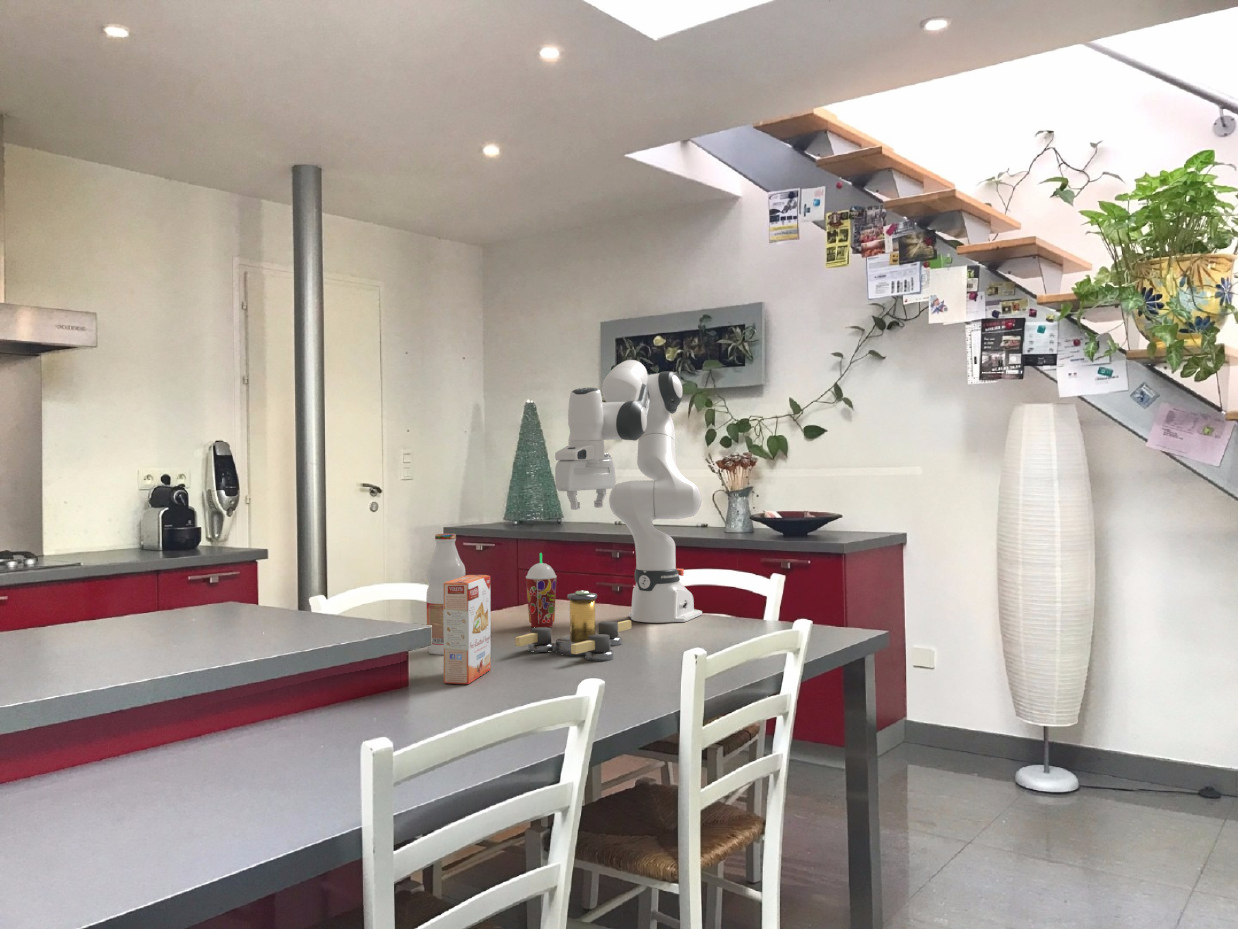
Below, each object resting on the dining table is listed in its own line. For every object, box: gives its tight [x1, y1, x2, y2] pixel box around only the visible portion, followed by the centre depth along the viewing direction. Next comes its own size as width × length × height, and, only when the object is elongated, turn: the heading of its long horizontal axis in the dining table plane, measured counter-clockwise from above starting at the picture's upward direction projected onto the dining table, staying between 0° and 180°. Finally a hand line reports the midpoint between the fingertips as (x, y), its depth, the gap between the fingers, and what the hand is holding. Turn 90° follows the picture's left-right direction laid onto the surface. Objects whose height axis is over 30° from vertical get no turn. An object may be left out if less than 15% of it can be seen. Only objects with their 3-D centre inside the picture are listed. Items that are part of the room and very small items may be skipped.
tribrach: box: [527, 590, 622, 662], centre depth 236 cm, size 21×24×14 cm
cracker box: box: [443, 574, 492, 685], centre depth 207 cm, size 14×6×21 cm, turn 168°
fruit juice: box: [425, 533, 466, 656], centre depth 235 cm, size 9×9×28 cm
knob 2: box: [571, 633, 611, 654], centre depth 222 cm, size 11×5×3 cm, turn 141°
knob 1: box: [514, 627, 552, 647], centre depth 232 cm, size 11×5×3 cm, turn 146°
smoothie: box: [525, 552, 557, 628], centre depth 267 cm, size 8×8×20 cm
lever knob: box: [597, 619, 632, 638], centre depth 244 cm, size 11×5×3 cm, turn 144°
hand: (587, 508), depth 245 cm, fingers open, 8 cm apart
